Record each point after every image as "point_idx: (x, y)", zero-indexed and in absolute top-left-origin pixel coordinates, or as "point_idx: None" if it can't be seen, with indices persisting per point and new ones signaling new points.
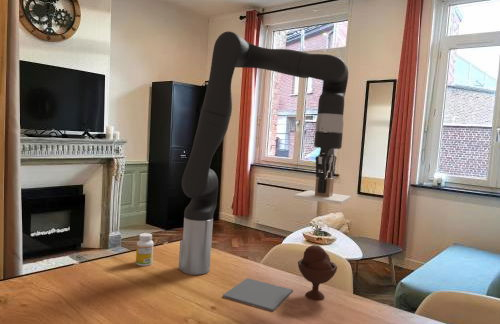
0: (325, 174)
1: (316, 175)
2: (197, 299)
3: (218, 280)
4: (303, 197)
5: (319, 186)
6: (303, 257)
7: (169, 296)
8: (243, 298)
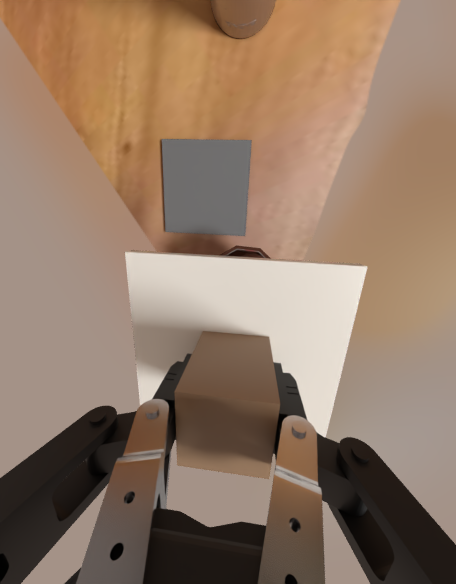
0: (100, 477)
1: (84, 418)
2: (132, 106)
3: (219, 89)
4: (132, 295)
5: (164, 379)
6: (245, 255)
7: (111, 51)
8: (170, 177)
